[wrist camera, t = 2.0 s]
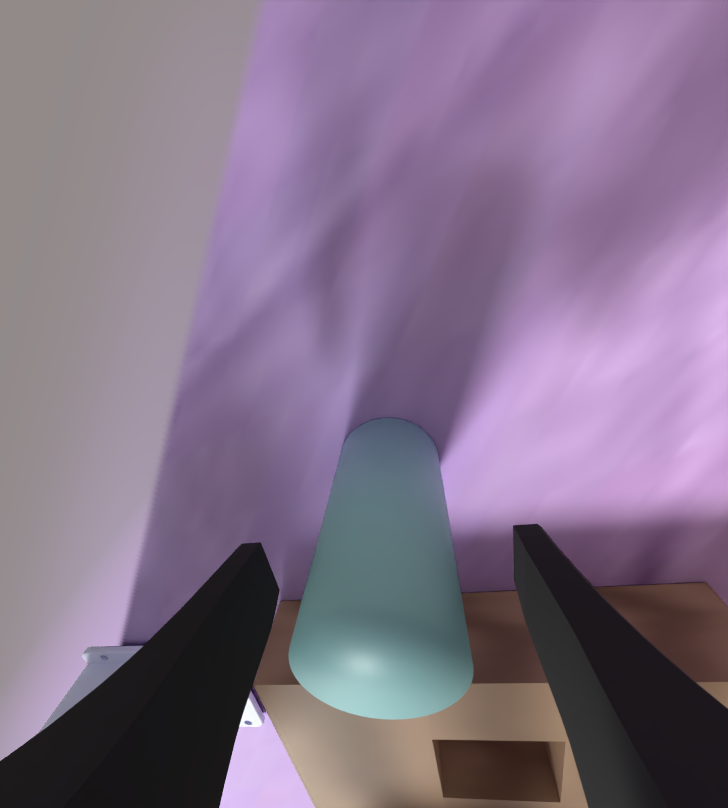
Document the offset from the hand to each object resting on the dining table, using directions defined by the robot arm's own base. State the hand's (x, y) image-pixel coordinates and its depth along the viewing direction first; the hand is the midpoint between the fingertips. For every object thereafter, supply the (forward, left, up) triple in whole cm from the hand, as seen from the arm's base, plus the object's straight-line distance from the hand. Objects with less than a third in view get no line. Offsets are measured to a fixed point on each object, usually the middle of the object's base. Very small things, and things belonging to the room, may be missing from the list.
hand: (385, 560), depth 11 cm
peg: (0, 0, -5) cm, 5 cm away
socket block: (+3, -15, -5) cm, 16 cm away
